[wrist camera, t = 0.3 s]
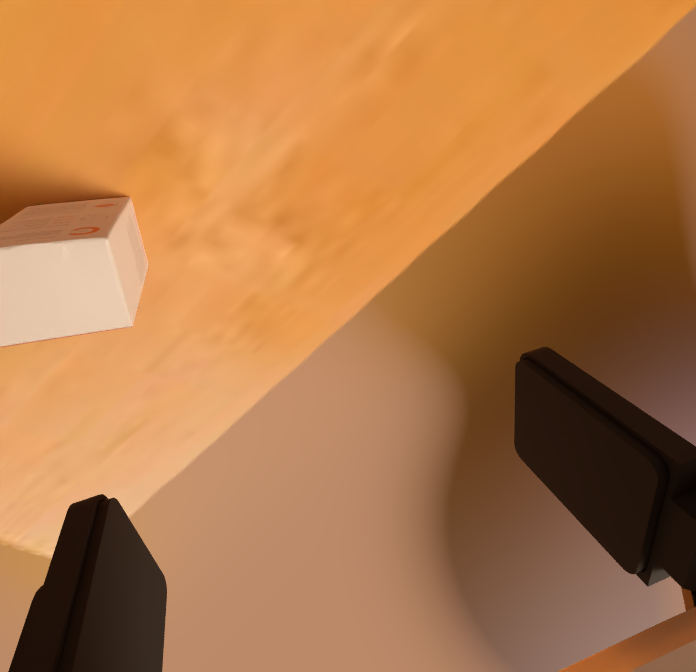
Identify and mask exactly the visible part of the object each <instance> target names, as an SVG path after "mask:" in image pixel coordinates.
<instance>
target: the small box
mask: <svg viewBox="0 0 696 672" xmlns="http://www.w3.org/2000/svg"><path fill="white" fill-rule="evenodd" d="M148 266H149V265H148V261H147V257H146V253H145V250H144V246H143V242H142V238H141V234H140V230H139V227H138V223H137V219H136V215H135V211H134V207H133V204H132V200H131V198H130V197H120V198H107V199H96V200H85V201H75V202H64V203H54V204H44V205H35V206H27V207H26V208H24V209H23V210H21V211H20V212H18V213H17V214H15V215H14V216H13V217H11V218H10V219H8V220H7V221H5V222H4V223H2V224H0V347H6V346H13V345H19V344H25V343H31V342H38V341H44V340H51V339H57V338H63V337H70V336H76V335H83V334H89V333H95V332H102V331H108V330H114V329H121V328H127V327H132V326H133V323H134V319H135V315H136V311H137V308H138V304H139V300H140V296H141V292H142V289H143V285H144V281H145V277H146V273H147V270H148Z"/></svg>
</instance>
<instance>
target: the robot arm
mask: <svg viewBox="0 0 696 672" xmlns="http://www.w3.org/2000/svg"><path fill="white" fill-rule="evenodd" d="M514 443H515V449H516V451H517V453H518V455H519V457H520V458H521V459H522V460H523V461H524V462H525V464H526V465H527V466H528V467H529V468H530V469H531V470H532V471H533V472H534V473H535V474H536V475H537V477H538V478H539V479H540V480H541V481H542V482H543V483H544V484H545V485H546V486H547V487H548V488H549V489H550V491H551V492H552V493H553V494H554V495H555V496H556V497H557V498H558V499H559V500H560V501H561V502H562V503H563V505H564V506H565V507H566V508H567V509H568V510H569V511H570V512H571V513H572V514H573V515H574V516H575V517H576V519H577V520H578V521H579V522H580V523H581V524H582V525H583V526H584V527H585V528H586V529H587V530H588V531H589V532H590V534H591V535H592V536H593V537H594V538H595V539H596V540H597V541H598V542H599V543H600V544H601V545H602V547H604V548H605V550H606V551H607V552H608V553H609V554H610V555H611V556H612V557H613V558H614V559H615V560H616V562H617V563H618V564H619V565H620V566H621V567H622V568H623V569H624V570H625V571H627V572H628V573H630V574H637V576H638V577H639V578H640V579H641V580H642V581H643V582H644V583H645V584H646V585H647V586H650V585H652V584H655V583H657V582H659V581H661V580H663V579H666V578H668V577H669V576H671V577H672V578H673V579H674V580H675V581H676V582H677V583H678V584H679V585H680V586H681V588H682V594H683V599H684V604H685V609H686V612H684V613H681V614H679V615H677V616H675V617H672V618H670V619H668V620H666V621H663V622H661V623H659V624H657V625H655V626H653V627H651V628H649V629H647V630H644V631H643V632H640V633H638V634H636V635H634V636H632V637H630V638H628V639H625V640H623V641H621V642H619V643H617V644H615V645H613V646H611V647H608V648H606V649H604V650H602V651H600V652H598V653H596V654H594V655H592V656H590V657H587V658H585V659H583V660H581V661H579V662H577V663H575V664H573V665H570V666H568V667H567V668H564V669H562V670H560V671H558V672H696V447H695V446H694V445H693V444H691V443H690V442H688V441H687V440H685V439H684V438H682V437H681V436H679V435H678V434H676V433H675V432H673V431H672V430H670V429H669V428H667V427H666V426H664V425H663V424H661V423H660V422H658V421H657V420H655V419H654V418H652V417H651V416H650V415H648V414H646V413H645V412H644V411H642V410H641V409H639V408H638V407H636V406H635V405H633V404H632V403H630V402H629V401H627V400H626V399H624V398H623V397H621V396H620V395H618V394H617V393H616V392H614V391H613V390H611V389H610V388H608V387H606V386H605V385H603V384H602V383H601V382H599V381H598V380H596V379H595V378H593V377H592V376H590V375H589V374H587V373H586V372H584V371H583V370H581V369H580V368H578V367H577V366H575V365H574V364H573V363H571V362H570V361H568V360H567V359H565V358H563V357H562V356H561V355H559V354H558V353H556V352H555V351H553V350H551V349H550V348H548V347H542V348H539V349H536V350H533V351H530V352H527V353H524V354H522V356H521V357H520V361H519V362H517V364H516V370H515V438H514ZM166 599H167V587H166V581H165V578H164V575H163V573H162V571H161V570H160V568H159V567H158V565H157V563H156V562H155V560H154V559H153V557H152V555H151V554H150V552H149V550H148V549H147V547H146V545H145V544H144V542H143V541H142V539H141V537H140V536H139V534H138V532H137V531H136V529H135V528H134V526H133V524H132V523H131V521H130V519H129V518H128V516H127V515H126V513H125V511H124V510H123V508H122V506H121V505H120V503H119V502H118V500H117V499H116V498H111V499H108V498H107V497H106V496H105V495H103V494H101V495H97V496H94V497H91V498H88V499H85V500H82V501H79V502H76V503H73V504H72V505H70V507H69V509H68V511H67V514H66V517H65V520H64V523H63V526H62V529H61V532H60V535H59V539H58V542H57V545H56V548H55V551H54V554H53V557H52V560H51V563H50V566H49V570H48V573H47V576H46V579H45V582H44V585H43V586H41V587H40V588H39V589H38V591H37V592H36V594H35V596H34V598H33V600H32V603H31V606H30V609H29V612H28V615H27V618H26V621H25V624H24V627H23V630H22V633H21V636H20V639H19V642H18V645H17V648H16V651H15V654H14V657H13V660H12V663H11V666H10V669H9V672H162V663H163V647H164V631H165V616H166Z"/></svg>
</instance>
